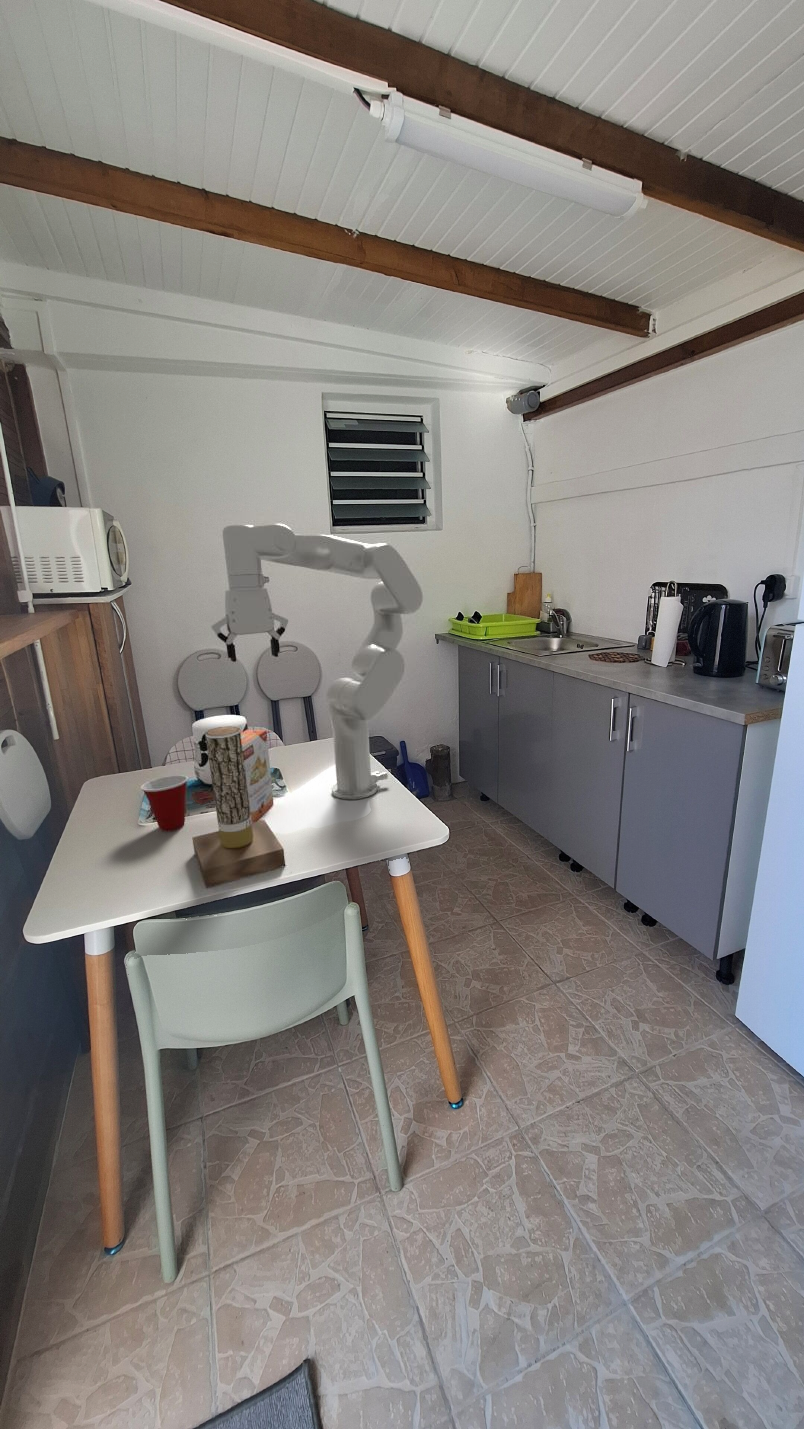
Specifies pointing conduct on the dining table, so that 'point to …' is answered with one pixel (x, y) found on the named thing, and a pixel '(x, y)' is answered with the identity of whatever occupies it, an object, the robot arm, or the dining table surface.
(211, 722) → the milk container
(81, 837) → the dining table surface
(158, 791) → the plastic cup
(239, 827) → the paper tube
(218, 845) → the walnut base
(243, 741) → the cracker box
